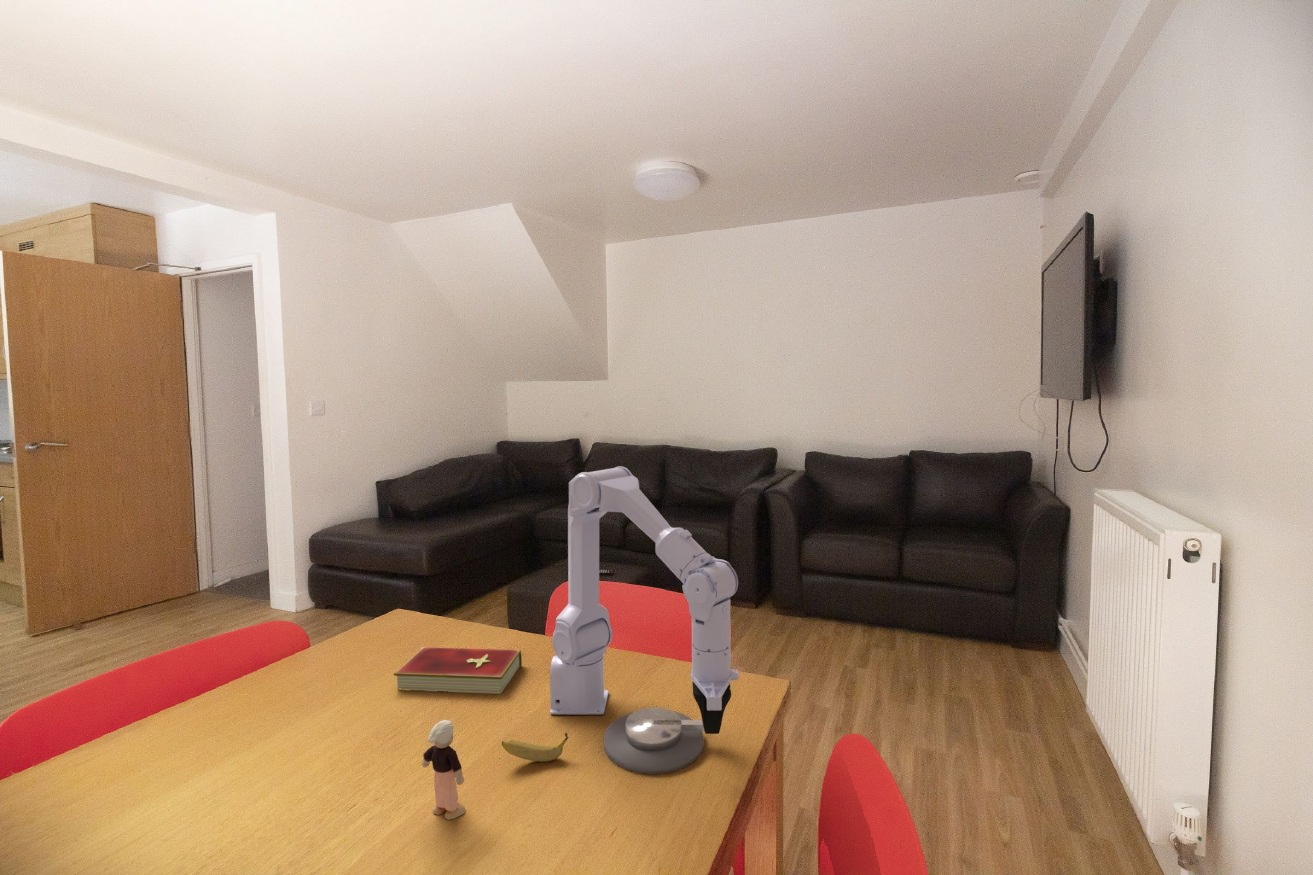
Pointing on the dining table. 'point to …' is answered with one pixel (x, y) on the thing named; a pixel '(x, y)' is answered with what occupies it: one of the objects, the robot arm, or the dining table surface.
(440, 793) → the grandmother figurine
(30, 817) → the dining table surface
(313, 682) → the dining table surface
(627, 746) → the dial base
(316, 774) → the dining table surface
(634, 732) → the dial
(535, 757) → the banana
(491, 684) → the hardcover book
